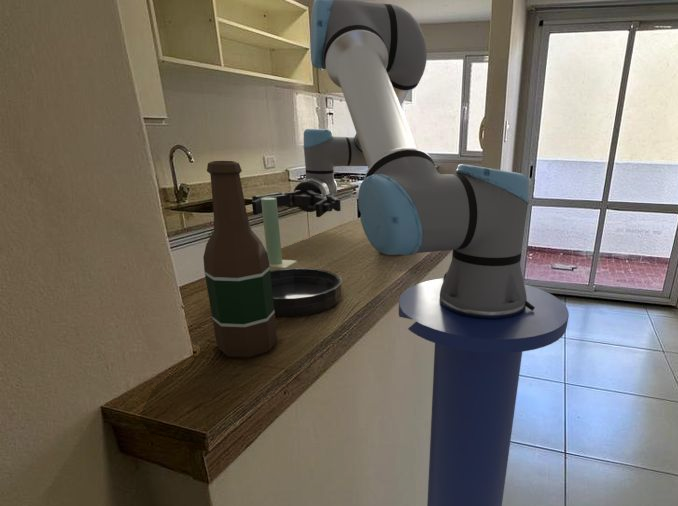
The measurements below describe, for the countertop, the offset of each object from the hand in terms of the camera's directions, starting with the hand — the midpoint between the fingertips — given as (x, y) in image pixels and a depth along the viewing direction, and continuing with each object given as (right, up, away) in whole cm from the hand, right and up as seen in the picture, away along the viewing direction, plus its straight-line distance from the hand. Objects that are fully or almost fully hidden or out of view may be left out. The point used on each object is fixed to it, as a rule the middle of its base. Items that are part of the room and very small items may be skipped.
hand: (285, 209), depth 95 cm
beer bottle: (+5, -27, -34) cm, 43 cm away
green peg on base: (-1, -14, -4) cm, 15 cm away
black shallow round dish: (+7, -20, -17) cm, 27 cm away
